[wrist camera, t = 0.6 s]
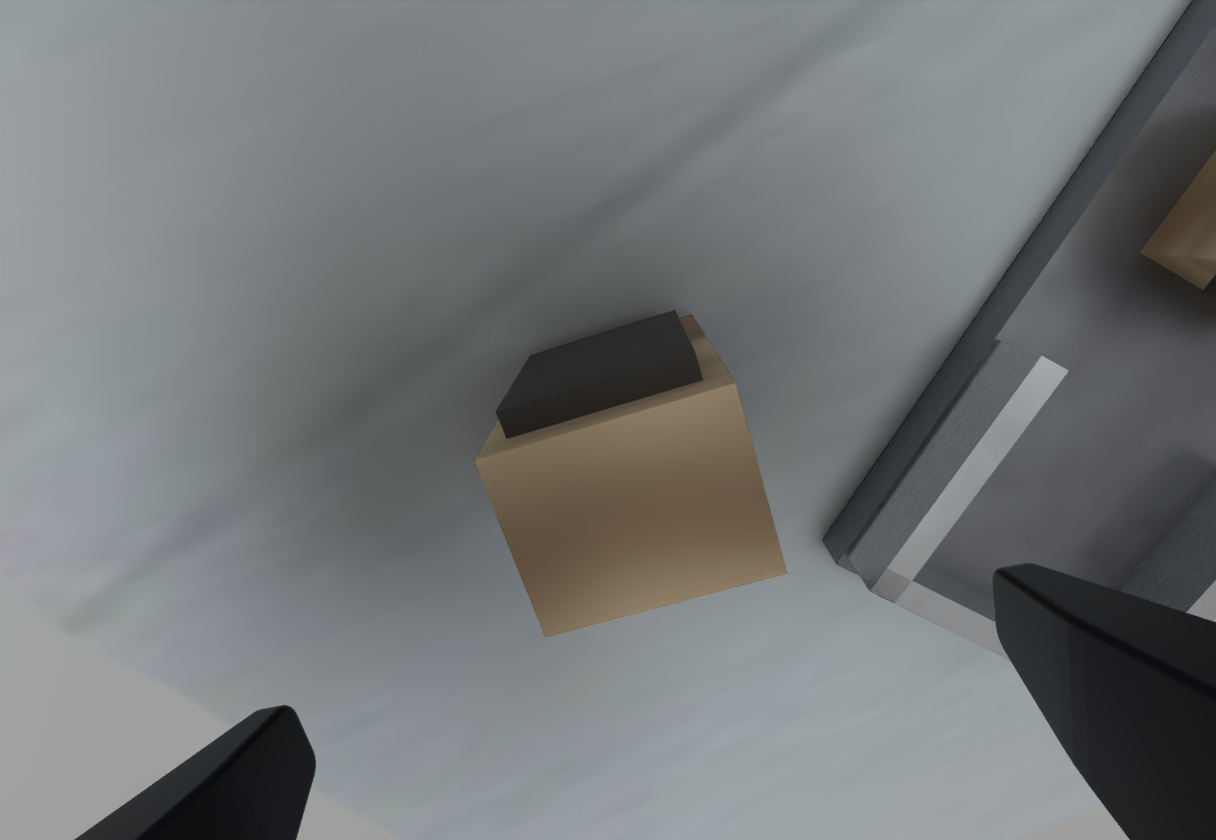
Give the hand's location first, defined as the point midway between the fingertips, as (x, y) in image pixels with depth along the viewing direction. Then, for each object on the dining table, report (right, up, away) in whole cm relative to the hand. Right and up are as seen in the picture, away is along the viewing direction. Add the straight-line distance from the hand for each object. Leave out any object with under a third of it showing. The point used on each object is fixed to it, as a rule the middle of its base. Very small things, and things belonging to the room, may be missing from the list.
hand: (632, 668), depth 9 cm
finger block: (0, +4, +12) cm, 13 cm away
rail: (+15, +5, +11) cm, 19 cm away
